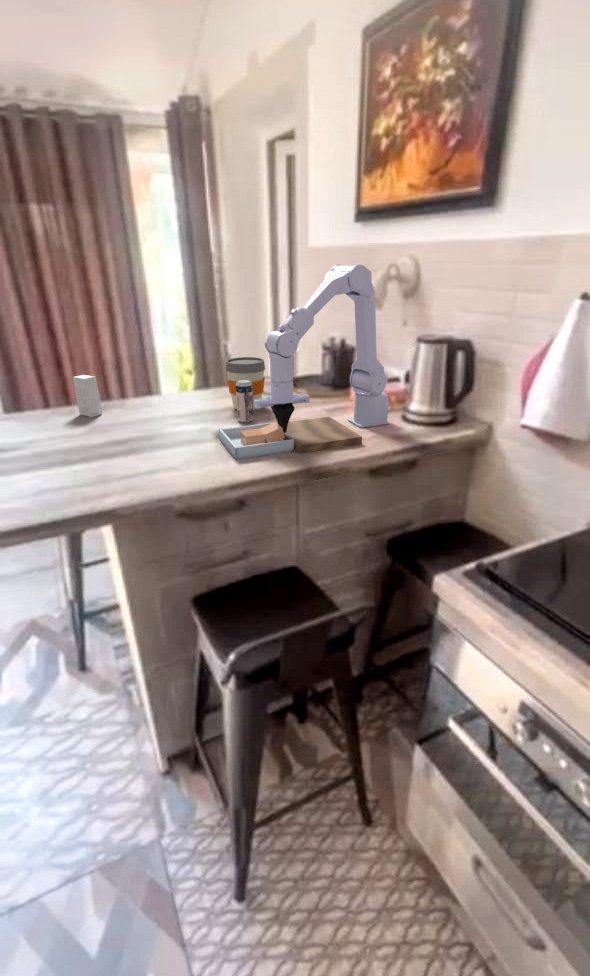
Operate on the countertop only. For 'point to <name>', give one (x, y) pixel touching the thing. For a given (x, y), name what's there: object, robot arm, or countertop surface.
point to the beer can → (244, 400)
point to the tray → (239, 451)
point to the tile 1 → (252, 437)
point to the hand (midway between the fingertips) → (282, 431)
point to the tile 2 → (272, 432)
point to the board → (320, 435)
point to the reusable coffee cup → (245, 375)
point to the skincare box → (87, 395)
